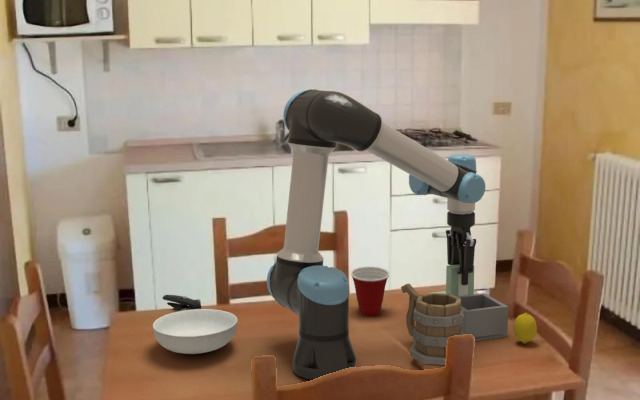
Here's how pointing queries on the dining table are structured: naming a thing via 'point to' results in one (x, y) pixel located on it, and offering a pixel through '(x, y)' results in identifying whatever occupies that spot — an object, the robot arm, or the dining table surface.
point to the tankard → (432, 324)
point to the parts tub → (484, 317)
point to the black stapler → (182, 302)
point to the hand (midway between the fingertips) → (459, 293)
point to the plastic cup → (370, 288)
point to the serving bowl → (195, 330)
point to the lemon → (525, 328)
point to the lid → (456, 281)
